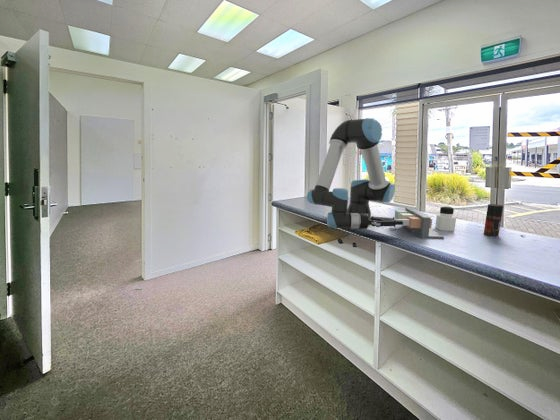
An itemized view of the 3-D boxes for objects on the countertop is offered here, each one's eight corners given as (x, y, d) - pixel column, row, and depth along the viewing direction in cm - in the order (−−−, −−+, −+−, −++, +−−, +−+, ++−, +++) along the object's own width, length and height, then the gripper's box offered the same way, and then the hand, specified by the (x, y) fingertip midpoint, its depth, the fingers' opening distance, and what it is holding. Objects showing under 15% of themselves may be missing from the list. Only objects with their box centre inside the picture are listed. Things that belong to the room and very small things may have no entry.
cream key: (402, 223, 144) (402, 215, 143) (399, 221, 148) (400, 213, 148) (421, 224, 143) (422, 215, 142) (418, 222, 148) (419, 213, 147)
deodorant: (484, 232, 145) (488, 203, 142) (498, 234, 141) (503, 205, 138) (483, 235, 140) (487, 205, 137) (498, 237, 136) (503, 206, 133)
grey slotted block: (421, 238, 134) (423, 217, 132) (403, 225, 159) (405, 207, 157) (443, 238, 134) (446, 218, 132) (422, 225, 158) (424, 207, 156)
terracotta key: (410, 227, 136) (411, 218, 135) (407, 225, 141) (408, 216, 140) (431, 228, 135) (432, 219, 134) (427, 226, 140) (428, 217, 139)
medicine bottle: (454, 231, 147) (457, 208, 145) (439, 230, 148) (442, 207, 146) (449, 227, 154) (452, 206, 151) (435, 227, 155) (437, 205, 153)
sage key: (397, 220, 152) (397, 211, 151) (394, 218, 156) (395, 210, 155) (415, 220, 151) (416, 212, 150) (412, 218, 156) (413, 210, 155)
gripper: (356, 225, 147) (403, 226, 145) (361, 231, 134) (413, 233, 132) (357, 210, 146) (405, 212, 143) (362, 216, 133) (414, 217, 131)
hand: (408, 222), depth 138 cm, fingers closed
